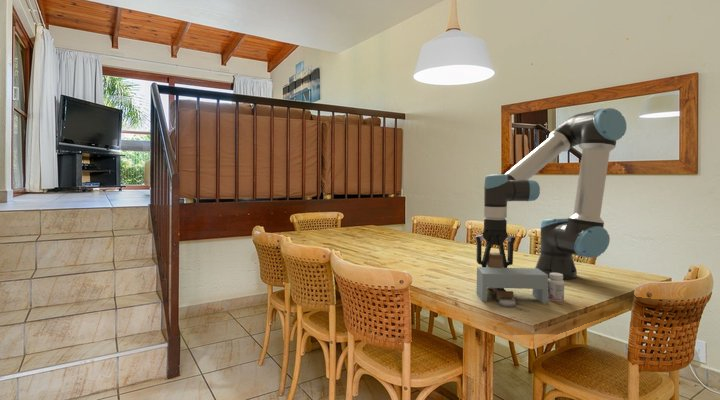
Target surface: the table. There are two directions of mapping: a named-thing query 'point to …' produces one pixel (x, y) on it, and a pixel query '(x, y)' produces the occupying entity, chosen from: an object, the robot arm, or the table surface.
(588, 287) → the table surface
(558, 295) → the pill bottle
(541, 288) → the bench
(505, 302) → the steel puck
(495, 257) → the brown angled block
